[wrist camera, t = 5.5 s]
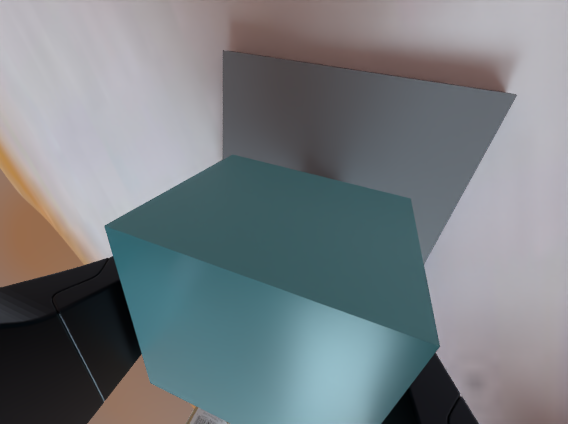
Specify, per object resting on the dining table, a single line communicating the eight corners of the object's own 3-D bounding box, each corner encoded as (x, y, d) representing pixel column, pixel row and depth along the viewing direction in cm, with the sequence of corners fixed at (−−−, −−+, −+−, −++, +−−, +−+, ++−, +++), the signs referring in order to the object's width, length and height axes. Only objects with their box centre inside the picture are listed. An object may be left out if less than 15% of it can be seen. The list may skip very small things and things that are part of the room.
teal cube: (410, 198, 8) (439, 346, 4) (357, 322, 11) (339, 478, 7) (232, 154, 9) (104, 225, 5) (230, 276, 12) (150, 383, 8)
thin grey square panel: (506, 92, 10) (571, 105, 7) (398, 297, 16) (402, 361, 13) (233, 51, 13) (174, 44, 9) (229, 241, 19) (194, 281, 15)
